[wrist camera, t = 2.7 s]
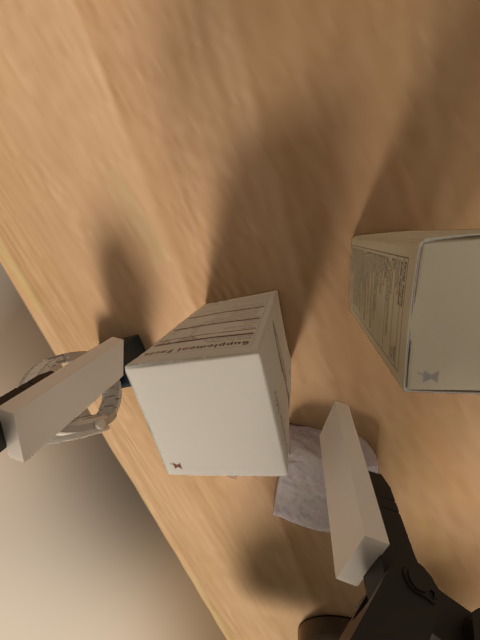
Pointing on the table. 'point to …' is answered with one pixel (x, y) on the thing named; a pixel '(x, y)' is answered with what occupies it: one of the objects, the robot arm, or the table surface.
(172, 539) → the table surface
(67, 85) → the table surface
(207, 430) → the supplement box
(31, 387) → the robot arm
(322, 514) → the stone block
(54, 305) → the table surface
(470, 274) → the skincare box
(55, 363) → the watch
